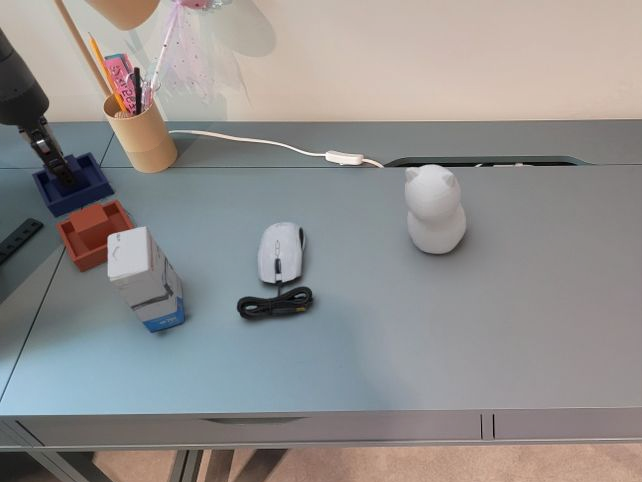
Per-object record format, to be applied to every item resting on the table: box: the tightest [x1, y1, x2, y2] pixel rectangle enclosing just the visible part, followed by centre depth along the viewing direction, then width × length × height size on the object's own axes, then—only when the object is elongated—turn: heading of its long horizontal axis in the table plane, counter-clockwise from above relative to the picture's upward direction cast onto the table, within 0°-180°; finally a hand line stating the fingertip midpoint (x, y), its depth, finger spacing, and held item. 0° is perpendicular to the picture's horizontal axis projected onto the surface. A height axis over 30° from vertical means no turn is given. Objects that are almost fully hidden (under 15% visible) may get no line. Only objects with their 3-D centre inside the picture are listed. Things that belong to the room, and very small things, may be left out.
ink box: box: [107, 225, 185, 333], centre depth 87 cm, size 9×5×12 cm, turn 21°
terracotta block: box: [67, 202, 118, 251], centre depth 97 cm, size 4×4×4 cm
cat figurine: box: [403, 164, 467, 255], centre depth 95 cm, size 9×12×15 cm
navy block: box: [42, 153, 92, 198], centre depth 103 cm, size 4×4×4 cm
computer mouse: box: [236, 221, 314, 320], centre depth 94 cm, size 10×18×4 cm, turn 10°
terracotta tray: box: [55, 198, 135, 273], centre depth 98 cm, size 9×9×2 cm
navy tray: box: [31, 151, 115, 218], centre depth 105 cm, size 9×9×2 cm
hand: (64, 170), depth 103 cm, fingers open, 7 cm apart
